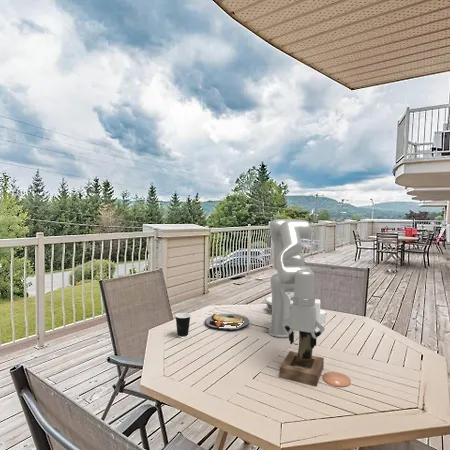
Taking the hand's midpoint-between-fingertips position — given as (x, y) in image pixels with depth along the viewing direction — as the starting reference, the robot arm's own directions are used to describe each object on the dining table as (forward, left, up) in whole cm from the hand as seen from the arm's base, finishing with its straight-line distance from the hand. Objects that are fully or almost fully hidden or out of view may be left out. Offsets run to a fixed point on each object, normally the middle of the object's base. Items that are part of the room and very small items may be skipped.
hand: (302, 344), depth 127 cm
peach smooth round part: (+13, 0, -11) cm, 17 cm away
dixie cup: (-62, +9, -11) cm, 63 cm away
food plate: (-50, +36, -11) cm, 62 cm away
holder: (0, 0, -11) cm, 11 cm away
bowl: (-29, +71, -11) cm, 77 cm away
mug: (0, 0, -5) cm, 5 cm away
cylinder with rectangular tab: (-5, +64, -11) cm, 65 cm away
